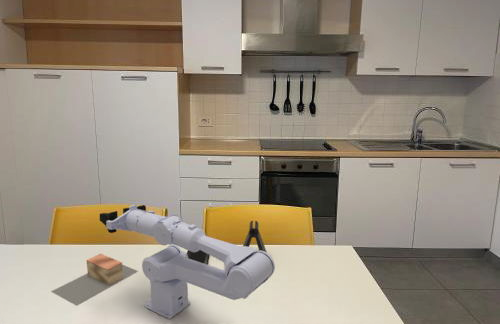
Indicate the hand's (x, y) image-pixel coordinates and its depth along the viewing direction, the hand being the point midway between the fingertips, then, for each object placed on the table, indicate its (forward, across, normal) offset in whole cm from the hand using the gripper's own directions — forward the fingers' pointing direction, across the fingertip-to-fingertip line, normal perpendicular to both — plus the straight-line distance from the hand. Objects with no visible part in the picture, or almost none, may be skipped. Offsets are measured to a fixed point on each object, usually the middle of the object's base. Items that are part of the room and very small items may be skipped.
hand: (112, 214), depth 107 cm
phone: (-10, -24, +20) cm, 33 cm away
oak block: (+6, -2, +21) cm, 22 cm away
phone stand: (-24, -38, +19) cm, 48 cm away
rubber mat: (+6, +1, +21) cm, 22 cm away
